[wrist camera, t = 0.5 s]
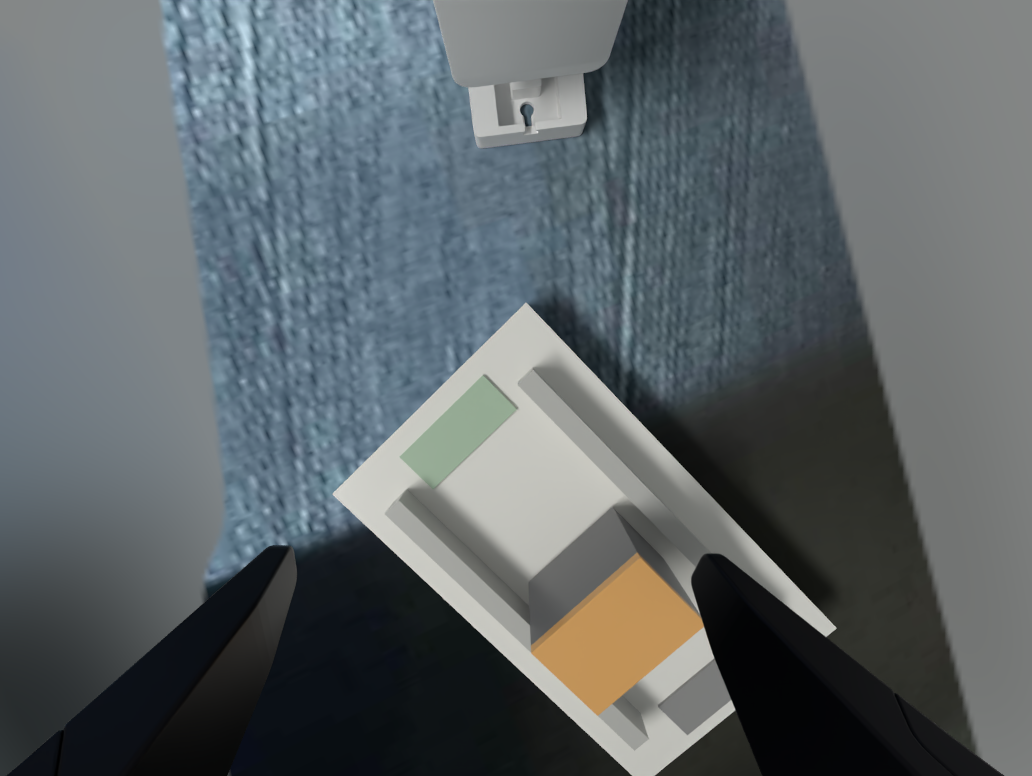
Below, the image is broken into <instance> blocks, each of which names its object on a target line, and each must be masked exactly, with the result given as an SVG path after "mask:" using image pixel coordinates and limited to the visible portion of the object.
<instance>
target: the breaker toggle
mask: <svg viewBox="0 0 1032 776" xmlns="http://www.w3.org/2000/svg"><path fill="white" fill-rule="evenodd" d="M528 587H529V613H530V639H531V654H532V655H533V656H535V657H536V658H537V659H538V660H539V661H540V662H541V663H542V664H543V665H544V666H545V667H546V668H547V669H548V670H549V671H550V672H551V673H553V674H554V675H555V676H556V677H557V678H558V679H559V680H560V681H561V682H562V683H563V684H564V685H565V686H566V687H567V688H568V689H569V690H570V691H572V692H573V693H574V694H575V695H576V696H577V697H578V698H579V699H580V700H581V701H582V702H583V703H584V704H585V705H586V706H587V707H588V708H590V709H591V710H592V711H593V712H594V713H595V714H596V715H597V716H598V715H599V714H601V713H602V712H603V711H604V710H605V709H607V708H608V707H609V706H610V705H611V704H613V703H614V702H615V701H616V700H617V699H618V698H620V697H621V696H622V695H623V694H624V693H626V692H627V691H628V690H629V689H630V688H632V687H633V686H634V685H635V684H636V683H638V682H639V681H640V680H641V679H642V678H643V677H645V676H646V675H647V674H648V673H649V672H651V671H652V670H653V669H654V668H655V667H657V666H658V665H659V664H660V663H661V662H663V661H664V660H665V659H666V658H667V657H668V656H670V655H671V654H672V653H673V652H674V651H676V650H677V649H678V648H679V647H680V646H682V645H683V644H684V643H685V642H686V641H688V640H689V639H690V638H691V637H692V636H693V635H695V634H696V633H697V632H698V631H699V630H701V629H702V628H703V627H704V625H703V622H702V619H701V615H700V613H699V612H698V610H697V609H696V607H695V606H694V604H693V603H692V601H691V600H690V598H689V597H688V595H687V593H686V592H685V590H684V589H683V587H682V586H681V584H680V583H679V581H678V580H677V578H676V577H675V575H674V573H673V572H672V570H671V569H670V567H669V566H668V564H667V563H666V561H665V560H664V558H663V557H662V556H661V555H660V554H659V553H658V552H657V551H656V550H655V549H654V548H653V547H652V546H651V545H650V544H649V543H648V542H647V541H646V540H645V539H644V538H643V537H642V536H641V535H640V534H639V533H638V532H637V531H636V530H635V529H634V528H633V527H632V526H631V525H630V524H629V523H628V522H627V521H626V520H625V519H624V518H623V517H622V516H621V515H620V514H619V513H618V512H617V511H616V510H615V509H614V508H613V507H611V508H610V509H609V510H608V511H607V512H606V513H605V514H604V515H603V516H601V517H600V518H599V519H598V520H597V521H596V522H595V523H594V524H593V525H591V526H590V527H589V528H588V529H587V530H586V531H585V532H584V533H583V534H581V535H580V536H579V537H578V538H577V539H576V540H575V541H574V542H573V543H571V544H570V545H569V546H568V547H567V548H566V549H565V550H564V551H563V552H561V553H560V554H559V555H558V556H557V557H556V558H555V559H554V560H553V561H551V562H550V563H549V564H548V565H547V566H546V567H545V568H544V569H543V570H541V571H540V572H539V573H538V574H537V575H536V576H535V577H534V578H533V579H531V580H530V581H529V582H528Z"/></svg>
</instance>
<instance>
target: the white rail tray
mask: <svg viewBox="0 0 1032 776" xmlns="http://www.w3.org/2000/svg"><path fill="white" fill-rule="evenodd" d="M333 495H334V496H335V497H336V498H337V499H338V500H339V501H340V502H341V503H342V504H343V505H344V506H345V507H347V508H348V509H349V510H350V511H351V512H352V513H353V514H354V515H355V516H356V517H357V518H358V519H359V520H360V521H361V522H363V523H364V524H365V525H366V526H367V527H368V528H369V529H370V530H371V531H372V532H373V533H374V534H375V535H376V536H377V537H379V538H380V539H381V540H382V541H383V542H384V543H385V544H386V545H387V546H388V547H389V548H390V549H391V550H392V551H393V552H395V553H396V554H397V555H398V556H399V557H400V558H401V559H402V560H403V561H404V562H405V563H406V564H407V565H408V566H409V567H411V568H412V569H413V570H414V571H415V572H416V573H417V574H418V575H419V576H420V577H421V578H422V579H423V580H424V581H425V582H427V583H428V584H429V585H430V586H431V587H432V588H433V589H434V590H435V591H436V592H437V593H438V594H439V595H440V596H441V597H443V598H444V599H445V600H446V601H447V602H448V603H449V604H450V605H451V606H452V607H453V608H454V609H455V610H456V611H457V612H459V613H460V614H461V615H462V616H463V617H464V618H465V619H466V620H467V621H468V622H469V623H470V624H471V625H472V626H473V627H475V628H476V629H477V630H478V631H479V632H480V633H481V634H482V635H483V636H484V637H485V638H486V639H487V640H488V641H489V642H491V643H492V644H493V645H494V646H495V647H496V648H497V649H498V650H499V651H500V652H501V653H502V654H503V655H504V656H505V657H506V658H508V659H509V660H510V661H511V662H512V663H513V664H514V665H515V666H516V667H517V668H518V669H519V670H520V671H521V672H522V673H524V674H525V675H526V676H527V677H528V678H529V679H530V680H531V681H532V682H533V683H534V684H535V685H536V686H537V687H538V688H540V689H541V690H542V691H543V692H544V693H545V694H546V695H547V696H548V697H549V698H550V699H551V700H552V701H553V702H554V703H556V704H557V705H558V706H559V707H560V708H561V709H562V710H563V711H564V712H565V713H566V714H567V715H568V716H569V717H570V718H572V719H573V720H574V721H575V722H576V723H577V724H578V725H579V726H580V727H581V728H582V729H583V730H584V731H585V732H586V733H588V734H589V735H590V736H591V737H592V738H593V739H594V740H595V741H596V742H597V743H598V744H599V745H600V746H601V747H602V748H604V749H605V750H606V751H607V752H608V753H609V754H610V755H611V756H612V757H613V758H614V759H615V760H616V761H617V762H618V763H620V764H621V765H622V766H623V767H624V768H625V769H626V770H627V771H628V772H629V773H630V774H631V775H632V776H654V775H656V774H657V773H658V772H659V771H661V770H662V769H663V768H664V767H666V766H667V765H668V764H669V763H670V762H672V761H673V760H674V759H675V758H677V757H678V756H679V755H680V754H682V753H683V752H684V751H685V750H687V749H688V748H689V747H690V746H692V745H693V744H694V743H695V742H696V741H698V740H699V739H700V738H701V737H703V736H704V735H705V734H706V733H708V732H709V731H710V730H711V729H713V728H714V727H715V726H716V725H718V724H719V723H720V722H721V721H722V720H724V719H725V718H726V717H727V716H729V715H730V714H731V713H732V712H734V711H735V708H734V705H733V703H732V700H731V698H730V696H729V693H728V691H727V688H726V686H725V683H724V681H723V679H722V676H721V674H720V671H719V669H718V666H717V664H716V661H715V659H714V656H713V653H712V650H711V647H710V644H709V641H708V638H707V635H706V632H705V628H704V627H703V628H702V629H701V630H699V631H698V632H697V633H696V634H695V635H693V636H692V637H691V638H690V639H689V640H688V641H686V642H685V643H684V644H683V645H682V646H680V647H679V648H678V649H677V650H676V651H674V652H673V653H672V654H671V655H670V656H668V657H667V658H666V659H665V660H664V661H663V662H661V663H660V664H659V665H658V666H657V667H655V668H654V669H653V670H652V671H651V672H649V673H648V674H647V675H646V676H645V677H643V678H642V679H641V680H640V681H639V682H638V683H636V684H635V685H634V686H633V687H632V688H630V689H629V690H628V691H627V692H626V693H624V694H623V695H622V696H621V697H620V698H618V699H617V700H616V701H615V702H614V703H613V704H611V705H610V706H609V707H608V708H607V709H605V710H604V711H603V712H602V713H601V714H599V715H598V716H597V715H596V714H595V713H594V712H593V711H592V710H591V709H590V708H588V707H587V706H586V705H585V704H584V703H583V702H582V701H581V700H580V699H579V698H578V697H577V696H576V695H575V694H574V693H573V692H572V691H570V690H569V689H568V688H567V687H566V686H565V685H564V684H563V683H562V682H561V681H560V680H559V679H558V678H557V677H556V676H555V675H554V674H553V673H551V672H550V671H549V670H548V669H547V668H546V667H545V666H544V665H543V664H542V663H541V662H540V661H539V660H538V659H537V658H536V657H535V656H533V655H532V654H531V639H530V613H529V587H528V582H529V581H530V580H531V579H533V578H534V577H535V576H536V575H537V574H538V573H539V572H540V571H541V570H543V569H544V568H545V567H546V566H547V565H548V564H549V563H550V562H551V561H553V560H554V559H555V558H556V557H557V556H558V555H559V554H560V553H561V552H563V551H564V550H565V549H566V548H567V547H568V546H569V545H570V544H571V543H573V542H574V541H575V540H576V539H577V538H578V537H579V536H580V535H581V534H583V533H584V532H585V531H586V530H587V529H588V528H589V527H590V526H591V525H593V524H594V523H595V522H596V521H597V520H598V519H599V518H600V517H601V516H603V515H604V514H605V513H606V512H607V511H608V510H609V509H610V508H611V507H613V508H614V509H615V510H616V511H617V512H618V513H619V514H620V515H621V516H622V517H623V518H624V519H625V520H626V521H627V522H628V523H629V524H630V525H631V526H632V527H633V528H634V529H635V530H636V531H637V532H638V533H639V534H640V535H641V536H642V537H643V538H644V539H645V540H646V541H647V542H648V543H649V544H650V545H651V546H652V547H653V548H654V549H655V550H656V551H657V552H658V553H659V554H660V555H661V556H662V557H663V558H664V560H665V561H666V563H667V564H668V566H669V567H670V569H671V570H672V572H673V573H674V575H675V577H676V578H677V580H678V581H679V583H680V584H681V586H682V587H683V589H684V590H685V592H686V593H687V595H688V597H689V598H690V600H691V601H692V603H693V604H694V606H695V607H696V609H697V610H698V612H699V609H698V606H697V603H696V599H695V596H694V593H693V590H692V586H691V577H692V574H693V572H694V570H695V568H696V566H697V564H698V562H699V560H700V558H701V556H702V555H703V554H705V553H718V554H722V555H724V556H725V557H726V558H728V559H729V560H730V561H731V562H733V563H734V564H735V565H736V566H738V567H739V568H740V569H741V570H743V571H744V572H745V573H747V574H748V575H749V576H750V577H752V578H753V579H754V580H755V581H757V582H758V583H759V584H760V585H762V586H763V587H764V588H765V589H767V590H768V591H769V592H770V593H772V594H773V595H774V596H775V597H777V598H778V599H779V600H780V601H782V602H783V603H784V604H785V605H787V606H788V607H789V608H790V609H792V610H793V611H794V612H795V613H797V614H798V615H799V616H800V617H802V618H803V619H804V620H805V621H807V622H808V623H809V624H810V625H812V626H813V627H814V628H815V629H817V630H818V631H819V632H820V633H822V634H823V635H824V636H825V637H826V636H828V635H829V634H830V633H831V632H833V631H834V630H835V629H836V627H835V626H834V625H833V624H832V623H831V622H830V621H829V620H828V619H827V618H826V617H825V615H824V614H823V613H822V612H821V611H820V610H819V609H818V608H817V607H816V606H815V605H814V604H813V603H812V602H811V601H810V600H809V599H808V598H807V597H806V596H805V594H804V593H803V592H802V591H801V590H800V589H799V588H798V587H797V586H796V585H795V584H794V583H793V582H792V581H791V580H790V579H789V578H788V577H787V576H786V575H785V574H784V572H783V571H782V570H781V569H780V568H779V567H778V566H777V565H776V564H775V563H774V562H773V561H772V560H771V559H770V558H769V557H768V556H767V555H766V554H765V553H764V551H763V550H762V549H761V548H760V547H759V546H758V545H757V544H756V543H755V542H754V541H753V540H752V539H751V538H750V537H749V536H748V535H747V534H746V533H745V532H744V530H743V529H742V528H741V527H740V526H739V525H738V524H737V523H736V522H735V521H734V520H733V519H732V518H731V517H730V516H729V515H728V514H727V513H726V512H725V511H724V510H723V508H722V507H721V506H720V505H719V504H718V503H717V502H716V501H715V500H714V499H713V498H712V497H711V496H710V495H709V494H708V493H707V492H706V491H705V490H704V489H703V487H702V486H701V485H700V484H699V483H698V482H697V481H696V480H695V479H694V478H693V477H692V476H691V475H690V474H689V473H688V472H687V471H686V470H685V469H684V468H683V466H682V465H681V464H680V463H679V462H678V461H677V460H676V459H675V458H674V457H673V456H672V455H671V454H670V453H669V452H668V451H667V450H666V449H665V448H664V447H663V446H662V444H661V443H660V442H659V441H658V440H657V439H656V438H655V437H654V436H653V435H652V434H651V433H650V432H649V431H648V430H647V429H646V428H645V427H644V426H643V425H642V423H641V422H640V421H639V420H638V419H637V418H636V417H635V416H634V415H633V414H632V413H631V412H630V411H629V410H628V409H627V408H626V407H625V406H624V405H623V404H622V402H621V401H620V400H619V399H618V398H617V397H616V396H615V395H614V394H613V393H612V392H611V391H610V390H609V389H608V388H607V387H606V386H605V385H604V384H603V383H602V382H601V380H600V379H599V378H598V377H597V376H596V375H595V374H594V373H593V372H592V371H591V370H590V369H589V368H588V367H587V366H586V365H585V364H584V363H583V362H582V361H581V359H580V358H579V357H578V356H577V355H576V354H575V353H574V352H573V351H572V350H571V349H570V348H569V347H568V346H567V345H566V344H565V343H564V342H563V341H562V340H561V338H560V337H559V336H558V335H557V334H556V333H555V332H554V331H553V330H552V329H551V328H550V327H549V326H548V325H547V324H546V323H545V322H544V321H543V320H542V319H541V318H540V316H539V315H538V314H537V313H536V312H535V311H534V310H533V309H532V308H531V307H530V306H529V305H528V304H527V303H525V304H524V305H523V306H522V307H521V308H520V309H519V310H518V311H517V312H516V313H515V314H514V315H513V316H512V317H511V318H510V319H509V320H508V321H507V322H506V323H505V324H504V325H503V326H502V327H501V328H500V329H499V330H498V331H497V332H496V333H495V334H494V335H493V336H492V337H491V338H490V339H489V340H488V341H487V342H486V343H485V344H484V345H483V346H482V347H481V348H480V349H479V350H478V351H477V352H476V353H475V354H474V355H473V356H472V357H470V358H469V359H468V360H467V361H466V362H465V363H464V364H463V365H462V366H461V367H460V368H459V369H458V370H457V371H456V372H455V373H454V374H453V375H452V376H451V377H450V378H449V379H448V380H447V381H446V382H445V383H444V384H443V385H442V386H441V387H440V388H439V389H438V390H437V391H436V392H435V393H434V394H433V395H432V396H431V397H430V398H429V399H428V400H427V401H426V402H425V403H424V404H423V405H422V406H421V407H420V408H419V409H418V410H417V411H416V412H415V413H414V414H413V415H412V416H411V417H410V418H409V419H408V420H407V421H406V422H405V423H404V424H403V425H402V426H401V427H400V428H399V429H398V430H397V431H396V432H395V433H394V434H393V435H392V436H391V437H390V438H389V439H387V440H386V441H385V442H384V443H383V444H382V445H381V446H380V447H379V448H378V449H377V450H376V451H375V452H374V453H373V454H372V455H371V456H370V457H369V458H368V459H367V460H366V461H365V462H364V463H363V464H362V465H361V466H360V467H359V468H358V469H357V470H356V471H355V472H354V473H353V474H352V475H351V476H350V477H349V478H348V479H347V480H346V481H345V482H344V483H343V484H342V485H341V486H340V487H339V488H338V489H337V490H336V491H335V492H334V493H333ZM699 613H700V612H699Z"/></svg>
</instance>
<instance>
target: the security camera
mask: <svg viewBox="0 0 1032 776" xmlns="http://www.w3.org/2000/svg"><path fill="white" fill-rule="evenodd" d="M433 1H434V5H435V9H436V13H437V17H438V21H439V25H440V29H441V33H442V37H443V41H444V45H445V49H446V53H447V57H448V60H449V64H450V68H451V72H452V76H453V79H454V81H455V82H456V83H457V84H458V85H461V86H463V87H468V88H469V96H470V104H471V113H472V121H473V129H474V135H475V139H476V144H477V146H478V147H479V148H490V147H498V146H506V145H513V144H521V143H529V142H537V141H545V140H553V139H560V138H568V137H576V136H580V135H581V134H582V132H583V129H584V126H585V123H586V120H587V112H586V100H585V89H584V78H583V73H587V72H592V71H594V70H597V69H599V68H600V67H602V66H603V65H604V64H605V63H606V62H607V61H608V59H609V57H610V54H611V51H612V47H613V44H614V41H615V38H616V35H617V32H618V29H619V26H620V23H621V20H622V17H623V14H624V11H625V8H626V5H627V2H628V0H433ZM524 104H530V105H531V106H532V107H533V108H534V113H533V114H532V116H531V120H532V126H529V127H526V126H525V121H524V117H523V115H522V114H521V113H520V108H521V107H522V106H523V105H524Z"/></svg>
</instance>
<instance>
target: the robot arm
mask: <svg viewBox="0 0 1032 776" xmlns="http://www.w3.org/2000/svg"><path fill="white" fill-rule="evenodd" d="M296 579H297V570H296V563H295V556H294V550H293V548H292V547H291V546H285V545H273V546H269V547H268V548H266V549H265V550H264V551H263V552H261V553H260V554H259V555H258V556H257V557H256V558H255V559H253V560H252V561H251V562H250V563H249V564H248V565H247V566H245V567H244V568H243V569H242V570H241V571H240V572H239V573H238V574H236V575H235V576H234V577H233V578H232V579H231V580H230V581H228V582H227V583H226V584H225V585H224V586H223V587H222V588H220V589H219V590H218V591H217V592H216V593H215V594H214V595H212V596H211V597H210V598H209V599H208V600H207V601H206V602H204V603H203V604H202V605H201V606H200V607H199V608H198V609H197V610H195V611H194V612H193V613H192V614H191V615H190V616H189V617H187V618H186V619H185V620H184V621H183V622H182V623H181V624H179V625H178V626H177V627H176V628H175V629H174V630H173V631H171V632H170V633H169V634H168V635H167V636H166V637H165V638H163V639H162V640H161V641H160V642H159V643H158V644H157V645H156V646H154V647H153V648H152V649H151V650H150V651H149V652H147V653H146V654H145V655H144V656H143V657H142V658H141V659H139V660H138V661H137V662H136V663H135V664H134V665H133V666H132V667H130V668H129V669H128V670H127V671H126V672H125V673H124V674H122V675H121V676H120V677H119V678H118V679H117V680H116V681H114V682H113V683H112V684H111V685H110V686H109V687H108V688H106V689H105V690H104V691H103V692H102V693H101V694H100V695H98V696H97V697H96V698H95V699H94V700H93V701H92V702H90V703H89V704H88V705H87V706H86V707H85V708H84V709H82V711H80V712H79V713H78V714H77V715H76V716H75V717H73V718H72V719H71V720H70V721H69V722H68V723H67V724H66V725H65V726H64V730H59V731H57V732H56V733H55V734H54V735H53V736H51V737H50V738H49V739H48V740H47V741H46V742H45V743H44V744H42V745H41V746H40V747H39V748H38V749H37V750H36V751H34V752H33V753H32V754H31V755H30V756H29V757H27V758H26V759H25V760H24V761H23V762H22V763H20V764H19V765H18V766H17V767H16V768H15V769H13V770H12V771H11V772H10V773H9V774H7V775H6V776H227V775H228V772H229V770H230V767H231V765H232V763H233V760H234V758H235V755H236V753H237V750H238V748H239V745H240V743H241V740H242V738H243V736H244V733H245V731H246V728H247V726H248V723H249V721H250V718H251V716H252V713H253V711H254V708H255V706H256V704H257V701H258V699H259V696H260V694H261V691H262V689H263V686H264V684H265V681H266V679H267V676H268V674H269V671H270V668H271V666H272V662H273V659H274V656H275V653H276V649H277V646H278V643H279V639H280V636H281V632H282V629H283V626H284V622H285V619H286V615H287V612H288V609H289V605H290V602H291V598H292V595H293V591H294V588H295V584H296ZM691 586H692V590H693V593H694V596H695V599H696V603H697V606H698V609H699V612H700V615H701V619H702V622H703V625H704V628H705V632H706V635H707V638H708V641H709V644H710V647H711V650H712V653H713V656H714V659H715V661H716V664H717V666H718V669H719V671H720V674H721V676H722V679H723V681H724V683H725V686H726V688H727V691H728V693H729V696H730V698H731V700H732V703H733V705H734V708H735V710H736V713H737V715H738V718H739V720H740V722H741V725H742V727H743V730H744V732H745V735H746V737H747V739H748V742H749V744H750V747H751V749H752V752H753V754H754V756H755V759H756V761H757V764H758V766H759V769H760V771H761V774H762V776H1004V775H1003V774H1001V773H1000V772H998V771H997V770H996V769H994V768H993V767H991V766H990V765H989V764H988V763H986V762H985V761H984V760H982V759H981V758H979V757H978V756H977V755H975V754H974V753H973V752H971V751H970V750H969V749H967V748H966V747H965V746H963V745H962V744H961V743H959V742H958V741H957V740H955V739H954V738H953V737H951V736H950V735H949V734H948V733H946V732H945V731H944V730H942V729H941V728H940V727H939V726H937V725H936V724H935V723H933V722H932V721H931V720H930V719H928V718H927V717H926V716H924V715H923V714H922V713H921V712H919V711H918V710H917V709H916V708H914V707H913V706H912V705H911V704H909V703H908V702H907V701H906V700H904V699H903V698H902V697H901V696H899V695H898V694H896V693H894V692H893V691H892V689H890V688H889V687H888V686H887V685H885V684H884V683H883V682H882V681H880V680H879V679H878V678H877V677H875V676H874V675H873V674H872V673H870V672H869V671H868V670H867V669H865V668H864V667H863V666H862V665H860V664H859V663H858V662H857V661H855V660H854V659H853V658H852V657H850V656H849V655H848V654H847V653H845V652H844V651H843V650H842V649H840V648H839V647H838V646H837V645H835V644H834V643H833V642H832V641H830V640H829V639H828V638H827V637H825V636H824V635H823V634H822V633H820V632H819V631H818V630H817V629H815V628H814V627H813V626H812V625H810V624H809V623H808V622H807V621H805V620H804V619H803V618H802V617H800V616H799V615H798V614H797V613H795V612H794V611H793V610H792V609H790V608H789V607H788V606H787V605H785V604H784V603H783V602H782V601H780V600H779V599H778V598H777V597H775V596H774V595H773V594H772V593H770V592H769V591H768V590H767V589H765V588H764V587H763V586H762V585H760V584H759V583H758V582H757V581H755V580H754V579H753V578H752V577H750V576H749V575H748V574H747V573H745V572H744V571H743V570H741V569H740V568H739V567H738V566H736V565H735V564H734V563H733V562H731V561H730V560H729V559H728V558H726V557H725V556H724V555H722V554H718V553H705V554H703V555H702V556H701V558H700V560H699V562H698V564H697V566H696V568H695V570H694V572H693V574H692V577H691Z"/></svg>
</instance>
